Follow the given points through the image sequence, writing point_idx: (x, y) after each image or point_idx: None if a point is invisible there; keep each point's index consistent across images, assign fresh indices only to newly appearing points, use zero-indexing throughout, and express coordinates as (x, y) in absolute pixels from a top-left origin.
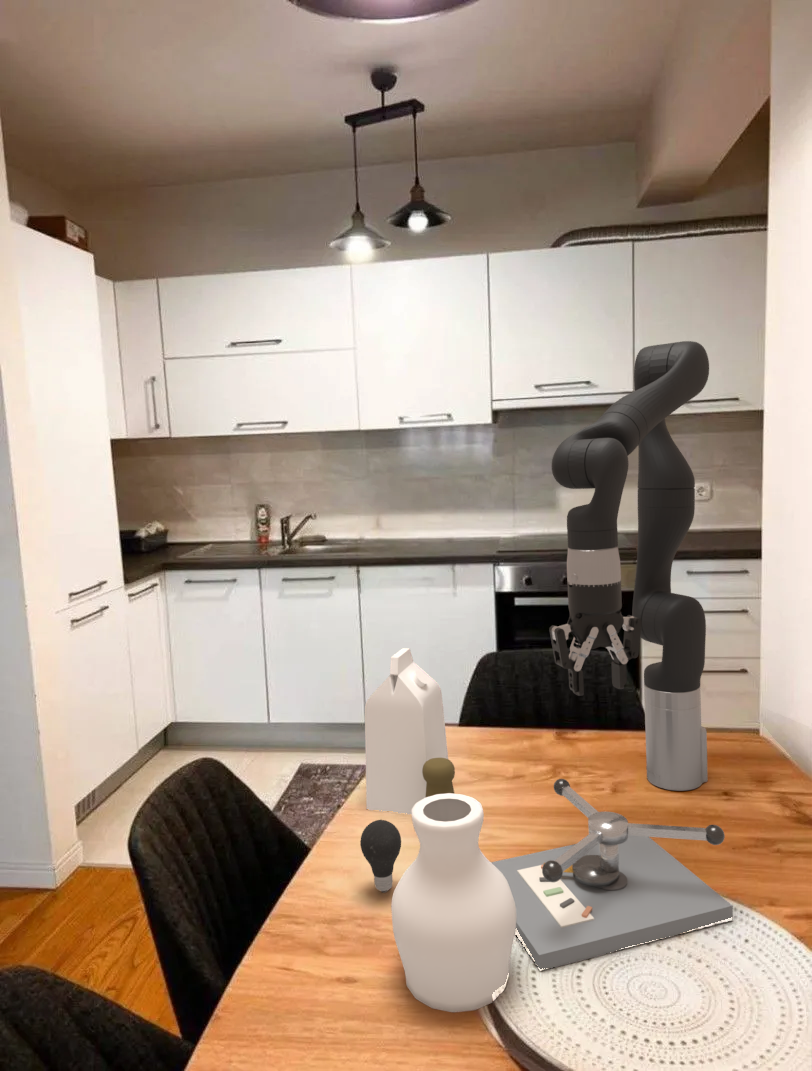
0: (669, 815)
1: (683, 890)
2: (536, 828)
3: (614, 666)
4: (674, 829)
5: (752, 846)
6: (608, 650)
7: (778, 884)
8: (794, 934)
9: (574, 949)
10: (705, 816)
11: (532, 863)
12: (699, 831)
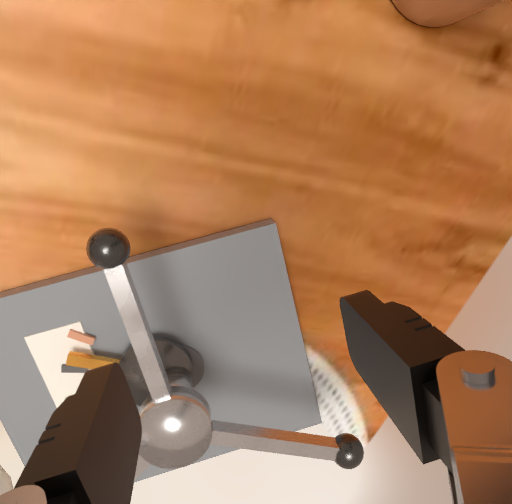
0: (357, 126)
1: (275, 392)
2: (85, 138)
3: (401, 388)
4: (287, 452)
5: (432, 247)
6: (450, 442)
7: None
8: (369, 430)
9: None
10: (415, 141)
11: (54, 314)
12: (325, 459)
